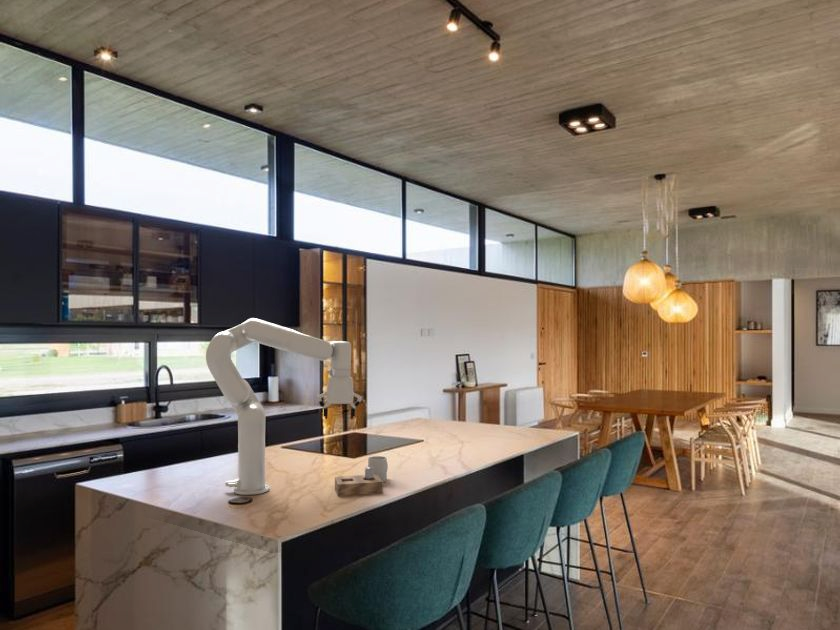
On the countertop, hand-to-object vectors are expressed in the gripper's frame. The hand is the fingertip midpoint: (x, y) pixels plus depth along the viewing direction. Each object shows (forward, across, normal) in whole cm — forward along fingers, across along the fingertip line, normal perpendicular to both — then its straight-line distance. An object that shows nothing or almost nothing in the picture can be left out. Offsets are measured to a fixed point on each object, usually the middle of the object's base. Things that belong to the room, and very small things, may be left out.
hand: (338, 418), depth 234 cm
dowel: (+24, +11, -10) cm, 28 cm away
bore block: (+25, +7, -10) cm, 28 cm away
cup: (+25, +17, +4) cm, 30 cm away
